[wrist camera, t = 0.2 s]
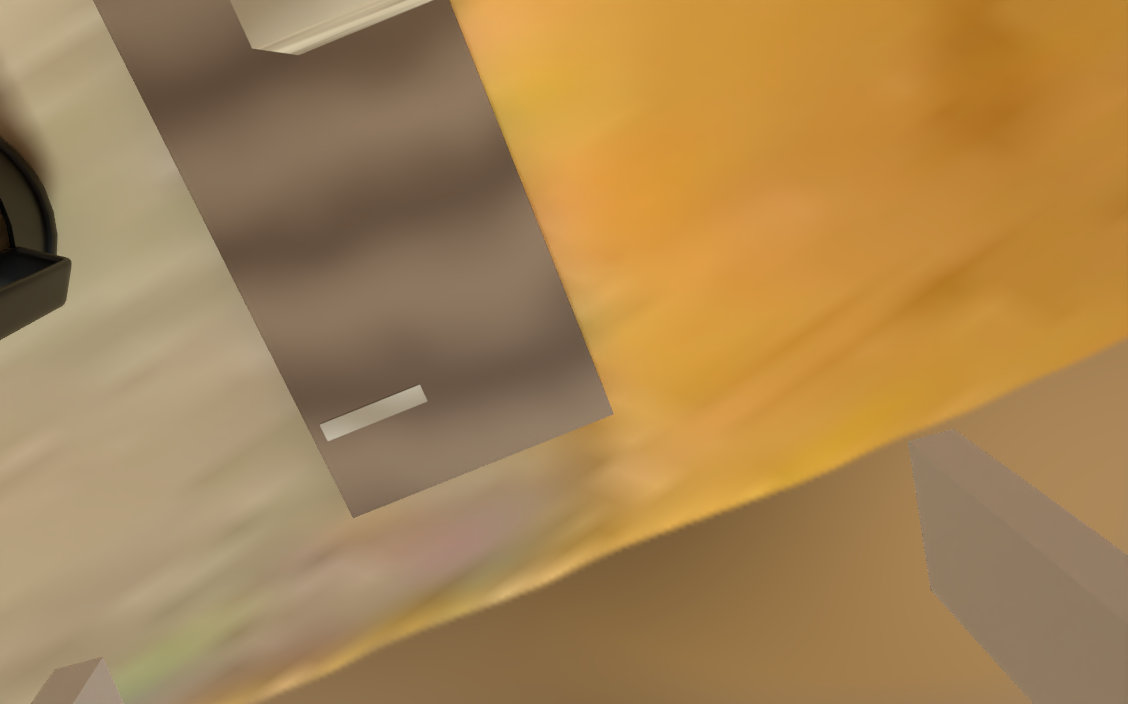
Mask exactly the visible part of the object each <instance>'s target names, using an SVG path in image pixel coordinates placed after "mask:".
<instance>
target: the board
mask: <svg viewBox="0 0 1128 704" xmlns="http://www.w3.org/2000/svg"><path fill="white" fill-rule="evenodd" d="M93 1H94V3H95V5H96V7H97V9H98V11H99V13H100V15H101V17H102V19H103V21H104V23H105V25H106V27H107V29H108V31H109V33H110V35H111V37H112V39H113V41H114V43H115V45H116V47H117V49H118V51H119V53H120V55H121V57H122V59H123V61H124V63H125V65H126V67H127V69H128V71H129V73H130V75H131V77H132V79H133V81H134V83H135V85H136V87H137V89H138V91H139V93H140V95H141V97H142V99H143V101H144V103H145V105H146V107H147V108H148V110H149V112H150V114H151V116H152V118H153V120H154V122H155V124H156V126H157V128H158V130H159V132H160V134H161V136H162V138H163V140H164V142H165V144H166V146H167V148H168V150H169V152H170V154H171V156H172V158H173V160H174V162H175V164H176V166H177V168H178V170H179V172H180V174H181V176H182V178H183V180H184V182H185V184H186V186H187V188H188V190H189V192H190V194H191V196H192V198H193V200H194V202H195V204H196V206H197V208H198V210H199V212H200V214H201V216H202V218H203V220H204V222H205V224H206V226H207V228H208V230H209V232H210V234H211V236H212V238H213V240H214V242H215V244H216V246H217V248H218V250H219V252H220V254H221V256H222V258H223V260H224V262H225V264H226V266H227V268H228V270H229V272H230V274H231V276H232V278H233V280H234V282H235V284H236V286H237V288H238V290H239V292H240V294H241V296H242V298H243V300H244V302H245V304H246V306H247V308H248V310H249V312H250V314H251V316H252V318H253V320H254V322H255V324H256V326H257V328H258V330H259V332H260V334H261V335H262V337H263V339H264V341H265V343H266V345H267V347H268V349H269V351H270V353H271V355H272V357H273V359H274V361H275V363H276V365H277V367H278V369H279V371H280V373H281V375H282V377H283V379H284V381H285V383H286V385H287V387H288V389H289V391H290V393H291V395H292V397H293V399H294V401H295V403H296V405H297V407H298V409H299V411H300V413H301V415H302V417H303V419H304V421H305V423H306V425H307V427H308V429H309V431H310V433H311V435H312V437H313V439H314V441H315V443H316V445H317V447H318V449H319V451H320V453H321V455H322V457H323V459H324V461H325V463H326V465H327V467H328V469H329V471H330V473H331V475H332V477H333V479H334V481H335V483H336V485H337V487H338V489H339V491H340V493H341V495H342V497H343V499H344V501H345V503H346V505H347V507H348V509H349V511H350V513H351V515H352V517H353V518H355V517H357V516H360V515H362V514H365V513H367V512H370V511H372V510H375V509H377V508H380V507H382V506H385V505H387V504H390V503H392V502H395V501H397V500H400V499H402V498H405V497H407V496H410V495H412V494H415V493H417V492H420V491H422V490H425V489H427V488H430V487H432V486H435V485H437V484H440V483H442V482H445V481H447V480H450V479H452V478H455V477H457V476H460V475H462V474H465V473H467V472H470V471H472V470H475V469H477V468H480V467H482V466H485V465H487V464H490V463H492V462H495V461H497V460H500V459H502V458H505V457H507V456H510V455H512V454H515V453H517V452H520V451H523V450H525V449H528V448H530V447H533V446H535V445H538V444H540V443H543V442H545V441H548V440H550V439H553V438H555V437H558V436H560V435H563V434H565V433H568V432H570V431H573V430H575V429H578V428H580V427H583V426H585V425H588V424H590V423H593V422H595V421H598V420H600V419H603V418H605V417H608V416H610V415H613V411H612V409H611V406H610V404H609V401H608V399H607V396H606V394H605V391H604V389H603V386H602V383H601V381H600V378H599V376H598V373H597V371H596V368H595V366H594V363H593V361H592V358H591V356H590V353H589V351H588V348H587V346H586V343H585V341H584V338H583V336H582V333H581V331H580V328H579V326H578V323H577V321H576V318H575V316H574V313H573V311H572V308H571V306H570V303H569V301H568V298H567V296H566V293H565V290H564V288H563V285H562V283H561V280H560V278H559V275H558V273H557V270H556V268H555V265H554V263H553V260H552V258H551V255H550V253H549V250H548V248H547V245H546V243H545V240H544V238H543V235H542V233H541V230H540V228H539V225H538V223H537V220H536V218H535V215H534V213H533V210H532V208H531V205H530V203H529V200H528V197H527V195H526V192H525V190H524V187H523V185H522V182H521V180H520V177H519V175H518V172H517V170H516V167H515V165H514V162H513V160H512V157H511V155H510V152H509V150H508V147H507V145H506V142H505V140H504V137H503V135H502V132H501V130H500V127H499V125H498V122H497V120H496V117H495V115H494V112H493V110H492V107H491V105H490V102H489V99H488V97H487V94H486V92H485V89H484V87H483V84H482V82H481V79H480V77H479V74H478V72H477V69H476V67H475V64H474V62H473V59H472V57H471V54H470V52H469V49H468V47H467V44H466V42H465V39H464V37H463V34H462V32H461V29H460V27H459V24H458V22H457V19H456V17H455V14H454V12H453V9H452V6H451V4H450V1H449V0H432V1H430V2H428V3H425V4H423V5H420V6H418V7H415V8H413V9H410V10H408V11H406V12H403V13H401V14H398V15H396V16H393V17H391V18H388V19H386V20H383V21H381V22H379V23H376V24H374V25H371V26H369V27H366V28H364V29H361V30H359V31H356V32H354V33H352V34H349V35H347V36H344V37H342V38H339V39H337V40H334V41H332V42H329V43H327V44H325V45H322V46H320V47H317V48H315V49H312V50H310V51H307V52H305V53H303V54H300V55H294V54H287V53H280V52H273V51H266V50H259V49H252V47H251V45H250V43H249V41H248V38H247V36H246V34H245V32H244V30H243V28H242V25H241V23H240V21H239V19H238V17H237V15H236V12H235V10H234V8H233V6H232V4H231V2H230V0H93Z"/></svg>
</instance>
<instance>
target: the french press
mask: <svg viewBox="0 0 1128 704" xmlns="http://www.w3.org/2000/svg"><path fill="white" fill-rule="evenodd" d="M0 210H1V213H2V215H3V218H4V220H5V223H6V225H7V231H8V236H9V242H10V247H11V248H9V249H6V250H4V251H1V252H0V340H1V339H3V338H5V337H7V336H8V335H10V334H12V333H14V332H16V331H17V330H19V329H21V328H23V327H25V326H26V325H28V324H30V323H32V322H34V321H36V320H37V319H39V318H41V317H43V316H45V315H46V314H48V313H50V312H52V311H54V310H56V309H57V308H59V307H61V306H63V305H64V304H65V302H66V298H67V292H68V285H69V279H70V272H71V260H70V259H69V258H65V257H61V256H57V230H56V224H55V218H54V212H53V210H52V207H51V204H50V202H49V199H48V196H47V194H46V191H45V189H44V187H43V186H42V184H41V182H40V181H39V179H38V177H37V176H36V174H35V172H34V171H33V169H32V168H31V167H30V166H29V165H28V163H27V162H26V161H25V160H24V159H23V158H22V157H21V155H20V154H19V153H18V152H17V151H16V150H15V149H14V148H13V147H11V146H10V145H9V144H8V143H7V142H5V141H4V140H3V139H2V138H0Z"/></svg>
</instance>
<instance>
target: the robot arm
mask: <svg viewBox="0 0 1128 704" xmlns="http://www.w3.org/2000/svg"><path fill="white" fill-rule="evenodd" d="M908 445H909V451H910V457H911V464H912V470H913V477H914V483H915V490H916V497H917V503H918V510H919V516H920V523H921V529H922V536H923V542H924V549H925V555H926V562H927V568H928V575H929V581H930V588H931V591H932V592H933V593H934V594H935V595H936V596H937V597H938V599H939V600H940V601H941V602H942V603H943V604H944V605H945V606H946V607H947V608H948V609H949V611H950V612H951V613H952V614H953V615H954V616H955V617H956V619H957V620H958V621H959V622H960V623H961V624H962V625H963V626H964V627H965V628H966V630H967V631H968V632H969V633H970V634H971V635H972V636H973V637H974V639H975V640H976V641H977V642H978V643H979V644H980V645H981V646H982V647H983V649H984V650H985V651H986V652H987V653H988V654H989V655H990V656H991V657H992V659H993V660H994V661H995V662H996V663H997V664H998V665H999V666H1000V668H1001V669H1002V670H1003V671H1004V672H1005V673H1006V674H1007V675H1008V676H1009V678H1010V679H1011V680H1012V681H1013V682H1014V683H1015V684H1016V685H1017V686H1018V687H1019V689H1020V690H1021V691H1022V692H1023V693H1024V694H1025V695H1026V696H1027V697H1028V699H1029V700H1030V701H1031V702H1032V703H1033V704H1128V555H1127V554H1126V553H1124V552H1123V551H1122V550H1120V549H1119V548H1117V547H1116V546H1115V545H1113V544H1112V543H1111V542H1109V541H1108V540H1107V539H1105V538H1104V537H1102V536H1101V535H1100V534H1098V533H1097V532H1096V531H1094V530H1093V529H1091V528H1090V527H1089V526H1087V525H1086V524H1084V523H1083V522H1082V521H1080V520H1079V519H1078V518H1076V517H1075V516H1073V515H1072V514H1071V513H1069V512H1068V511H1067V510H1065V509H1064V508H1062V507H1061V506H1060V505H1058V504H1057V503H1056V502H1054V501H1053V500H1051V499H1050V498H1049V497H1047V496H1046V495H1045V494H1043V493H1042V492H1040V491H1039V490H1038V489H1036V488H1035V487H1033V486H1032V485H1031V484H1029V483H1028V482H1027V481H1025V480H1024V479H1022V478H1021V477H1020V476H1018V475H1017V474H1016V473H1014V472H1013V471H1012V470H1010V469H1009V468H1007V467H1006V466H1004V465H1003V464H1002V463H1001V462H999V461H997V460H996V459H995V458H993V457H992V456H991V455H989V454H988V453H987V452H985V451H984V450H983V449H981V448H980V447H978V446H977V445H976V444H974V443H973V442H972V441H970V440H969V439H967V438H966V437H965V436H963V435H962V434H961V433H959V432H958V431H956V430H955V429H952V430H948V431H944V432H940V433H936V434H933V435H929V436H925V437H922V438H918V439H915V440H910V441H908ZM31 704H124V703H123V701H122V699H121V697H120V694H119V692H118V690H117V688H116V685H115V683H114V681H113V679H112V676H111V674H110V672H109V670H108V667H107V665H106V663H105V661H104V658H103V657H100V658H97V659H93V660H89V661H85V662H82V663H78V664H74V665H70V666H67V667H63V668H59V669H55V670H54V672H53V673H52V675H51V676H50V677H49V679H48V680H47V682H46V683H45V685H44V686H43V687H42V689H41V690H40V692H39V693H38V694H37V696H36V697H35V699H34V700H33V702H32V703H31Z"/></svg>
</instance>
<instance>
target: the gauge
mask: <svg viewBox="0 0 1128 704" xmlns="http://www.w3.org/2000/svg"><path fill="white" fill-rule="evenodd" d="M430 1H432V0H230V2H231V4H232V6H233V8H234V10H235V12H236V15H237V17H238V19H239V21H240V23H241V25H242V28H243V30H244V32H245V34H246V36H247V38H248V41H249V43H250V45H251V47H252V49H259V50H266V51H273V52H280V53H287V54H294V55H300V54H303V53H305V52H307V51H310V50H312V49H315V48H317V47H320V46H322V45H325V44H327V43H329V42H332V41H334V40H337V39H339V38H342V37H344V36H347V35H349V34H352V33H354V32H356V31H359V30H361V29H364V28H366V27H369V26H371V25H374V24H376V23H379V22H381V21H383V20H386V19H388V18H391V17H393V16H396V15H398V14H401V13H403V12H406V11H408V10H410V9H413V8H415V7H418V6H420V5H423V4H425V3H428V2H430Z"/></svg>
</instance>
